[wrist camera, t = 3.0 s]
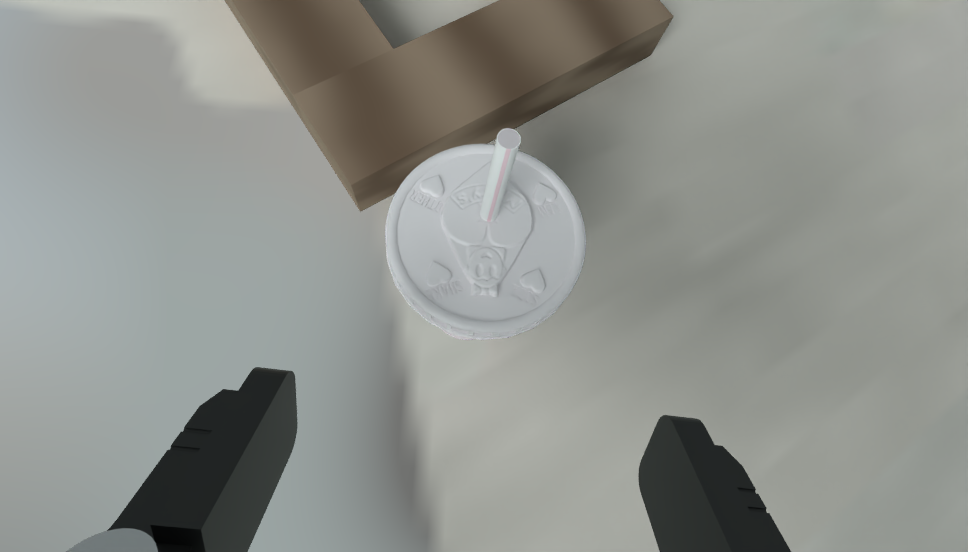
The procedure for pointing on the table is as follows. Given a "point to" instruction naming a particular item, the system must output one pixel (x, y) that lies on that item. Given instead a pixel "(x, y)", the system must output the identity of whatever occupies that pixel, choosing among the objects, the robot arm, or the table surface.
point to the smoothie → (484, 240)
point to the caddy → (437, 74)
